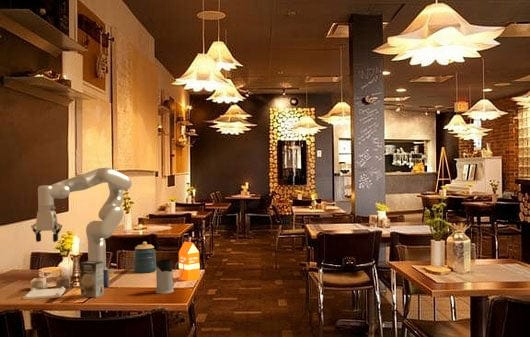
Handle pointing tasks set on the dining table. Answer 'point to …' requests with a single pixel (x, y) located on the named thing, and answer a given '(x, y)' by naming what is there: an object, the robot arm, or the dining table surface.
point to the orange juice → (189, 262)
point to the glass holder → (165, 276)
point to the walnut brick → (63, 282)
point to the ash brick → (38, 283)
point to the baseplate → (44, 293)
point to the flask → (106, 277)
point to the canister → (144, 258)
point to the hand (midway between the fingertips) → (47, 241)
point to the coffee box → (92, 279)
